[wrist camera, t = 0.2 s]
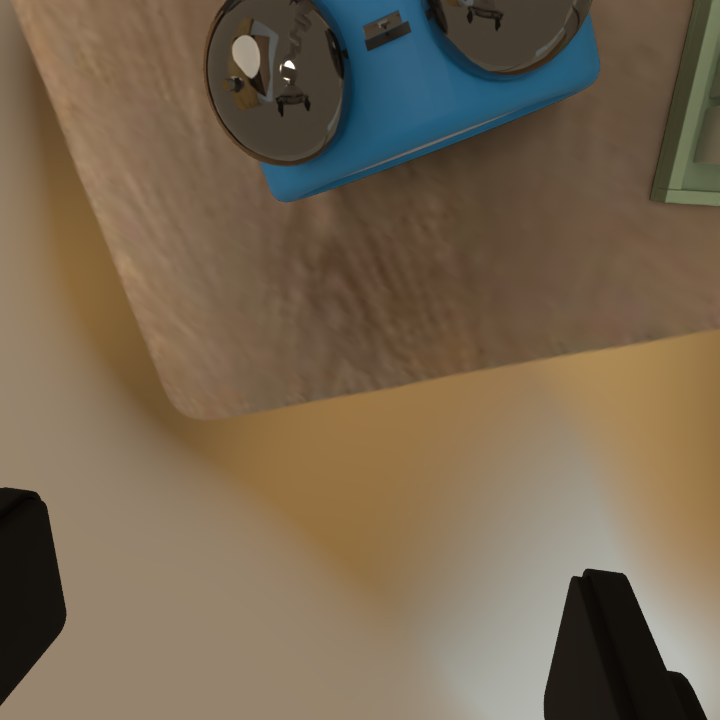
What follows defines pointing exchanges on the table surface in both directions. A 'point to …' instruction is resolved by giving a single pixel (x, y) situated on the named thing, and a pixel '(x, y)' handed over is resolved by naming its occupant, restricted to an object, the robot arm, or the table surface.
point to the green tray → (691, 116)
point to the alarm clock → (384, 78)
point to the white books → (710, 128)
